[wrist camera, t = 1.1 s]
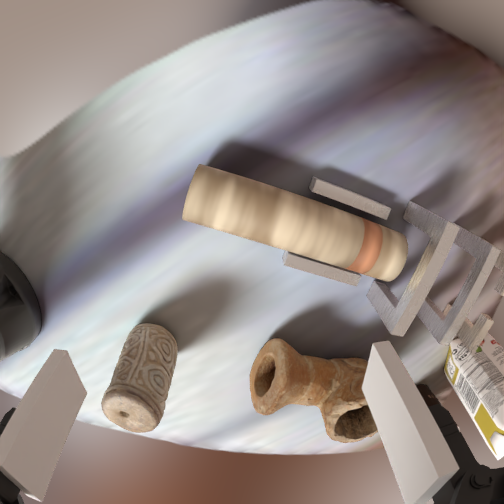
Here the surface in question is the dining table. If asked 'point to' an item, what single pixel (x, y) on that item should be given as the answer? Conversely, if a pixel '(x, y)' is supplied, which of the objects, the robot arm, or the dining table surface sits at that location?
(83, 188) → the dining table surface
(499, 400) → the juice carton
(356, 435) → the pipe
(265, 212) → the dowel
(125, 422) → the carving
